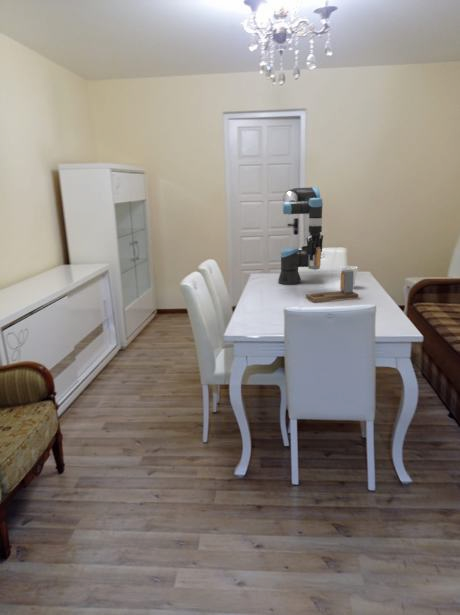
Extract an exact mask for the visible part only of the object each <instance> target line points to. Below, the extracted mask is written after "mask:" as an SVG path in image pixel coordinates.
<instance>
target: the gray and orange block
mask: <svg viewBox="0 0 460 615" xmlns="http://www.w3.org/2000/svg"><path fill="white" fill-rule="evenodd" d="M314 255H315V258H314V266H310V255H309V257H308V267H307V269H309V270H321V258H322V252H321V249H320V247H316V246H315V248H314Z"/></svg>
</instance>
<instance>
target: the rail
mask: <svg viewBox="0 0 460 615" xmlns="http://www.w3.org/2000/svg"><path fill="white" fill-rule="evenodd" d="M305 299H306V300H308V302H309V301H310V302H311V303H313V304H315V303H316V304H317V303H326V302H334V300H337V301H344V300H346V299H347V300H355V299H359V293H357V292H354V291H353V293H350V294H343V293H341V290H338V291H328V292H326V291H325V292H319V293H309V294H306V295H305ZM347 300H346V301H347Z"/></svg>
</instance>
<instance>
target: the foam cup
mask: <svg viewBox="0 0 460 615" xmlns="http://www.w3.org/2000/svg"><path fill="white" fill-rule="evenodd" d="M358 268H359V267H358V266H354V265H344V266H342V267H341V272H342V271H345V270H351V271H354V274H353V289H354V288H355V286H356V285H355V284H356V279H357V273H358Z"/></svg>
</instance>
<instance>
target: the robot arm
mask: <svg viewBox="0 0 460 615" xmlns="http://www.w3.org/2000/svg"><path fill="white" fill-rule="evenodd" d="M282 202H283V203H282V212H283V213H282V214H283V215H302V218H303V219H302V223H303V225H302V226H303V227H302V228H303V232H302V233H303V244H302V246H301V249H299V247H296V246H294V247H287V248H284V249H282V250H281V251H280V273H279V276H278V279H277V280H278V281H277V283H278V284H279V285H280V284H281V285H285V286H289V285H298V284H301V281H302V280H301V276H300V273H299V268H308V257H309V255H310V266H314V258H315V255H314V248H315V246H316V247H320V249H321V253H322V252H323V239H324V235H322V234H321V233H322V232H323V231H322V230H323V226H322V225H323V205H324V203H323V198H322V197H321V193H320V190H319V188H318V187H313V186H311V187H295V188H290V189H289V190H287V191H286V192H285V193H284V194H283V196H282Z"/></svg>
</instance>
